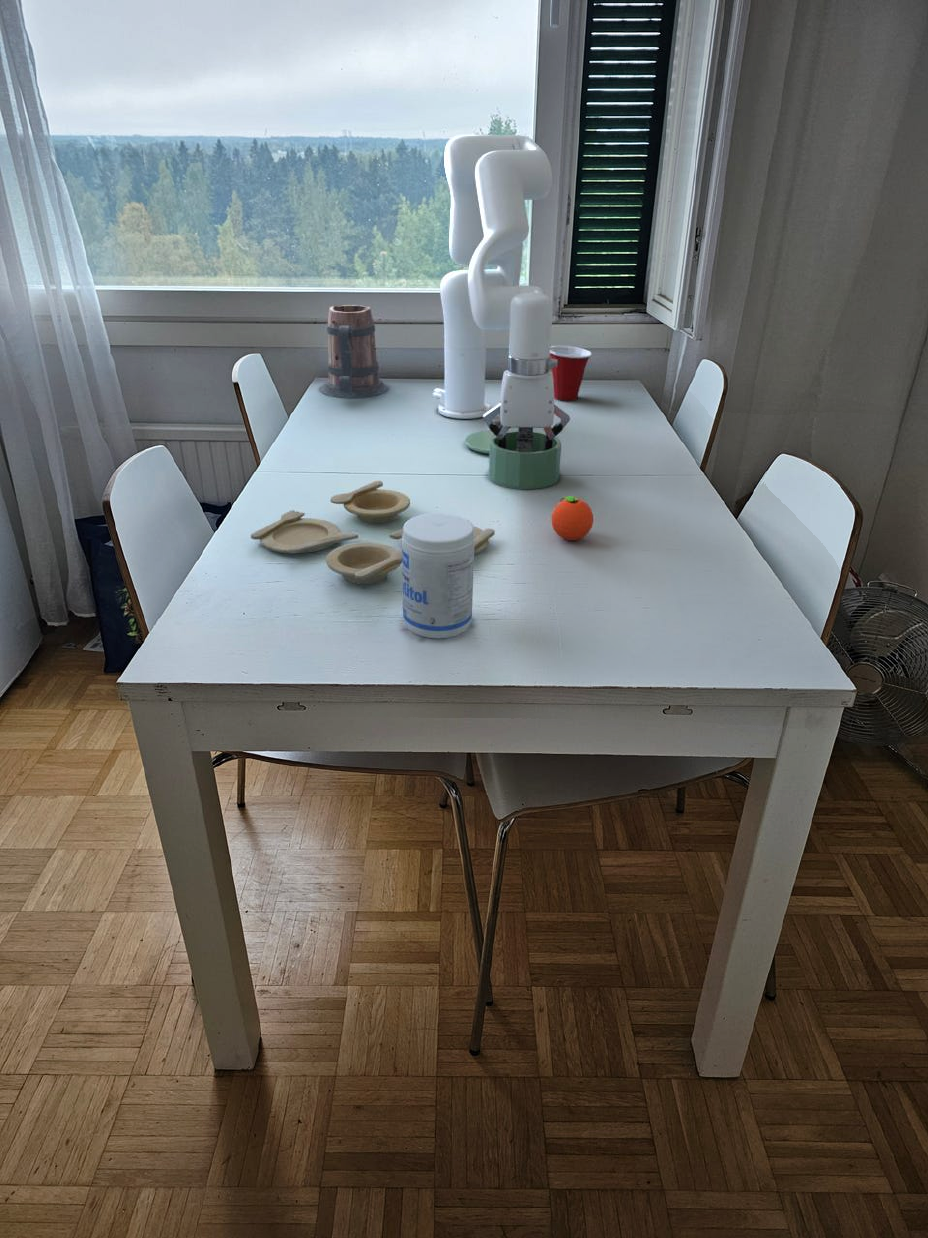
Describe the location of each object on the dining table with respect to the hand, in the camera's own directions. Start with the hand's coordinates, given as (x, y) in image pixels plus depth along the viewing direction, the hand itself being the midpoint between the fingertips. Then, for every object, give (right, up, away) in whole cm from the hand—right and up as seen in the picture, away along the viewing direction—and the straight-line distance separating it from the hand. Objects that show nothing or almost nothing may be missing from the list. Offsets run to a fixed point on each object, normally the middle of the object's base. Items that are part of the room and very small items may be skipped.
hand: (524, 456), depth 168 cm
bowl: (0, -3, +2) cm, 4 cm away
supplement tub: (-15, -32, -48) cm, 60 cm away
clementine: (+6, -18, -23) cm, 29 cm away
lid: (-4, +6, +18) cm, 19 cm away
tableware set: (-27, -19, -25) cm, 41 cm away
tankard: (-40, +26, +53) cm, 72 cm away
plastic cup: (+14, +24, +50) cm, 58 cm away
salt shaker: (0, -3, +2) cm, 4 cm away
